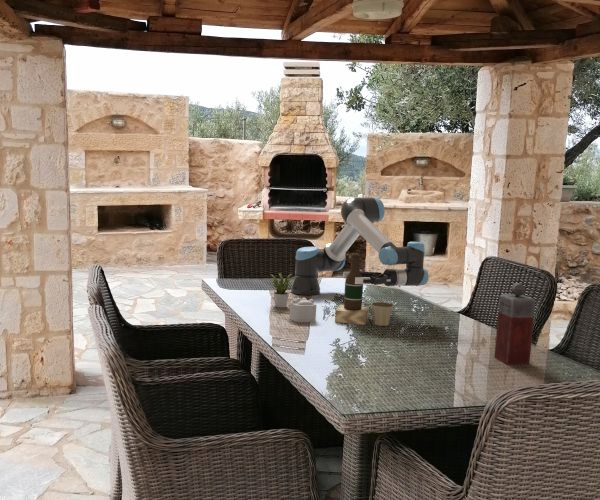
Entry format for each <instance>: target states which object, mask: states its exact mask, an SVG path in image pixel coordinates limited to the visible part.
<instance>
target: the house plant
mask: <svg viewBox="0 0 600 500" xmlns="http://www.w3.org/2000/svg"><path fill="white" fill-rule="evenodd" d="M271 276H272V277H271ZM271 276H270V278H271V279H272V283H273V284H271V283H270V284H269V285H270V286H273V288H274V290H275V292H273V299H274V305H275V307H276V308H286V307H287V306H288V301H289V295H290V293H289V292H286V291H287V290H291V287H293V286H292V285H291V282H290V281H292V279H295V276H293V277H291V276H292V273H290V274H288V275H287V276H286V278H285V279H284V278H283V277H284V276H283V274H282V273H281V272H279V273H278V276H279V278H280V279H279V280H278V279H277V278H276V276H274V275H273V274H271ZM296 277H298V276H296ZM292 290H293V289H292Z"/></svg>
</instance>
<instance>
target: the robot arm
mask: <svg viewBox="0 0 600 500" xmlns="http://www.w3.org/2000/svg"><path fill="white" fill-rule="evenodd" d="M385 210H386V209H385V205H384V203H383V201H382V200H381V199H380V198H378V197H373V196H371V197H366V196H365V197H361V196H359V197H357V196H355V197H354V196H353V197H349V198H348V199H345V200H344V202H343V204H342V205H341V208H340V214H341V215H340V216H341V219H343V222H344V223H346V224H345V225H344V227H343V228H342V229H341V231H340V232H339V233H338V234H337V235H336V237H335V238H334V239H333V241H332V242H329V243H327V244H326V245H325V246H324V248H322V249H319V247H318V246H304V247H303V246H302V247H300V248H298V249H297V250H296V253H295V267H294V269H295V270H294V272H295V273H294V278H293V282H292V283H291V286H293V287H290V288H291V289H290V293H292V294H295V295H300V296H301V295H302V296H315V295H319V294H321V286H320V283H319V280H318V274H319V273H320V272H337V271H340V270H342V269H343V268H344V266H345V264H346V252H348V250H349V249H350V247H351V246H352V245H353V244H354V243H355V241H357V239H358V238H359V236H360V237H362V238H363V239H364V240H365V241H366V242H367V243H368V244H369V245H370V246H371V248H373V249H374V250H375V251H376V253H378V259H379V261H380V264H382V265H385V266H395V265H405V268H385V269H384V271H383V272H378V271H361V270H360V274H361V275H362V277H355V284H363V285H366V284H367V285H370V284H371V285H374V286H376V285H377V286H378V285H385V286H386V287H398V288H401V286H403V287H406V286H407V287H413V286H415V287H419V286H426V285H427V284H428V282H429V271H428V270H427V269H425V268H424V263H425V261H424V260H425V248H426V247H425V243H424V242H420V241H409V242H407V245H406V246H397V245H396V244H394V243H393V241H392V240H390V239H389V238H388V237H387V236H386V235H385V234H384V233H383V232H382V231H381V230H380V229H379V228H378V227H377V226H376V225H375V224H374V223H379V222H382V220H383V219H384V216H385V213H386V212H385ZM349 272H350V271H343V273H342V276H343V277H342V278H343V279H346V277H347V275H348V274H349ZM296 276H298V277H296ZM292 289H293V290H292Z"/></svg>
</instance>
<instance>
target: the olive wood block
mask: <svg viewBox="0 0 600 500" xmlns="http://www.w3.org/2000/svg"><path fill="white" fill-rule="evenodd" d="M334 311H335V312H334V314H335V315H334V323H343V324H353V325H354V324H355V325H363V326H365V325H366V324H367V322H368V320H369V318H370V317H369V315H370V306H363V305H362V308H361V309H360V310H347V309H345V308H344V304H341V303H340V304H339V305H338V306H337V308H336V309H335V310H334Z"/></svg>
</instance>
